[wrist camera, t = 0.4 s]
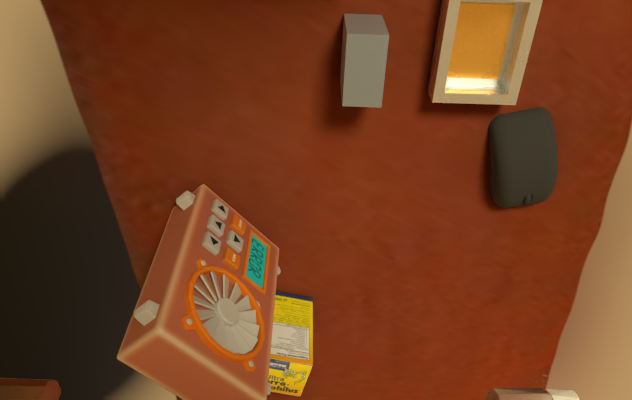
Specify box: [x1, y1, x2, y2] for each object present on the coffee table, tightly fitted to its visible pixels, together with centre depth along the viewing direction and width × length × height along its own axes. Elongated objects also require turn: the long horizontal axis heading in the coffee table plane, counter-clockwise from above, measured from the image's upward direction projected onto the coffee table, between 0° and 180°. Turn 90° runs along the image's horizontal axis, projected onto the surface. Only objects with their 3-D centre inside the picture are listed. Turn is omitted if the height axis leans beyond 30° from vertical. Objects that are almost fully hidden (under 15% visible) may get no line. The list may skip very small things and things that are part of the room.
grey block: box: [340, 14, 389, 107], centre depth 49 cm, size 6×4×6 cm, turn 178°
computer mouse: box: [489, 108, 558, 208], centre depth 57 cm, size 6×11×4 cm, turn 12°
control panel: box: [117, 184, 281, 400], centre depth 55 cm, size 21×7×15 cm
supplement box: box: [268, 292, 313, 396], centre depth 67 cm, size 6×6×11 cm
